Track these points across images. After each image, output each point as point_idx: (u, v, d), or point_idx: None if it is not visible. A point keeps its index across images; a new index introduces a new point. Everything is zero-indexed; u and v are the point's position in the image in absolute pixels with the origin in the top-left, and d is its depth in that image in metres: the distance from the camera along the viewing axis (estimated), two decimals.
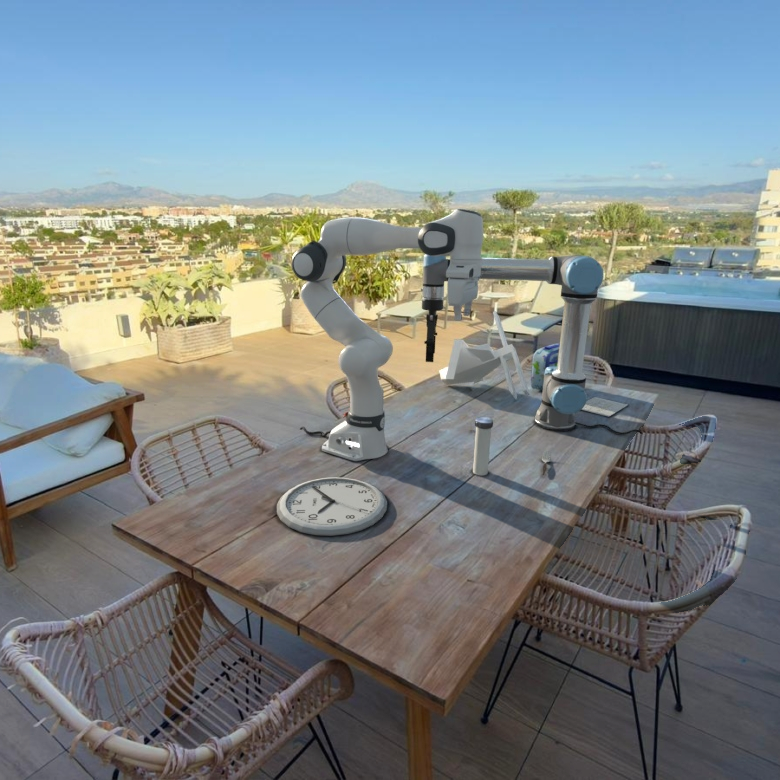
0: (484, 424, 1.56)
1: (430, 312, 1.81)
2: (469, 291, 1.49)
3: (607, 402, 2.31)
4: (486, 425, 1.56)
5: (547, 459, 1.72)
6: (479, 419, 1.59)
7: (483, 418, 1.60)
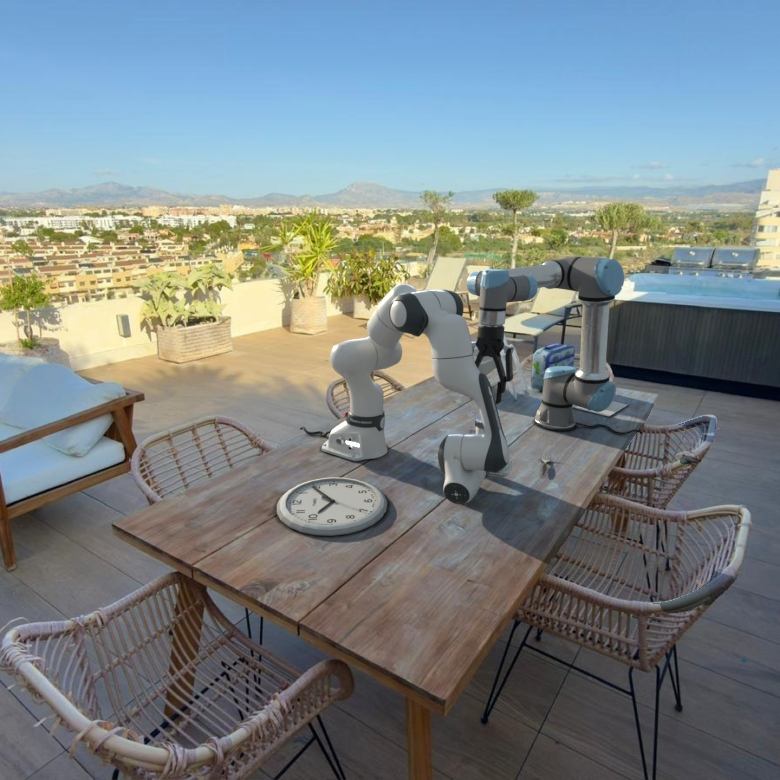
0: None
1: None
2: None
3: None
4: None
5: (547, 459, 1.72)
6: (479, 419, 1.59)
7: None
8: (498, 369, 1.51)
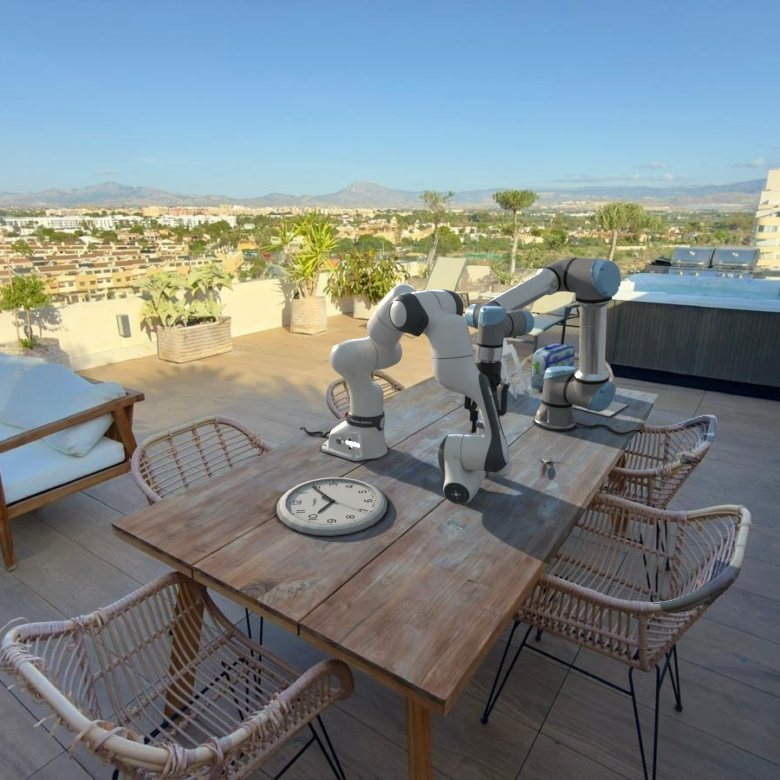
0: None
1: None
2: None
3: None
4: None
5: (547, 459, 1.72)
6: (479, 419, 1.59)
7: None
8: None
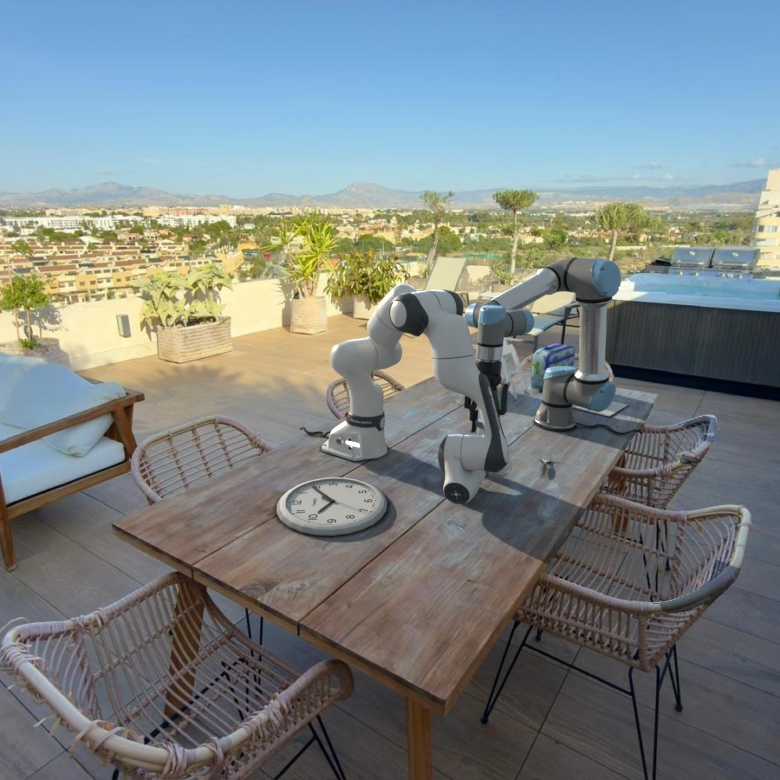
0: None
1: None
2: None
3: None
4: None
5: (547, 459, 1.72)
6: None
7: (481, 420, 1.58)
8: None
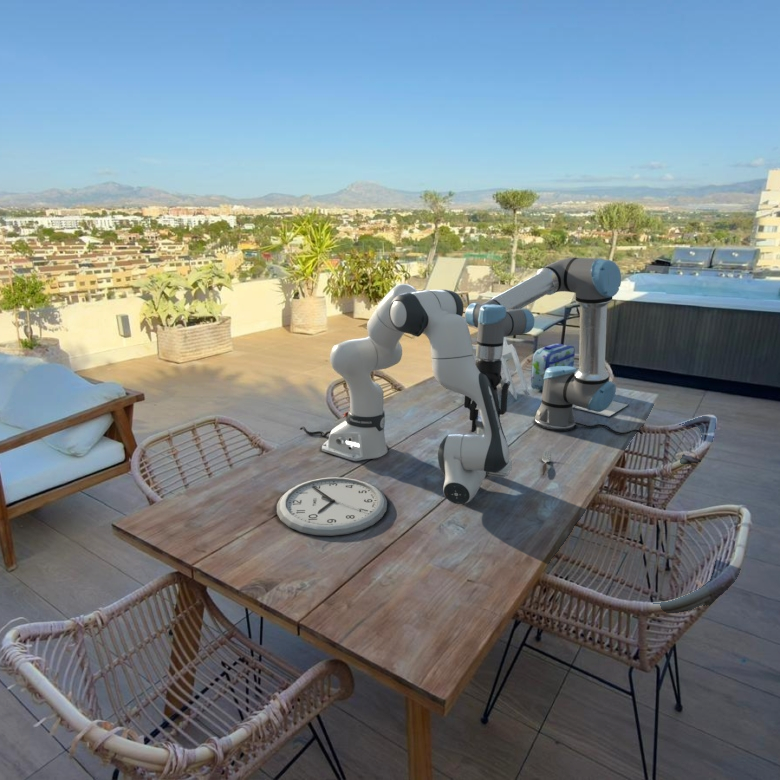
0: None
1: None
2: None
3: None
4: (475, 420, 1.59)
5: (547, 459, 1.72)
6: None
7: None
8: None
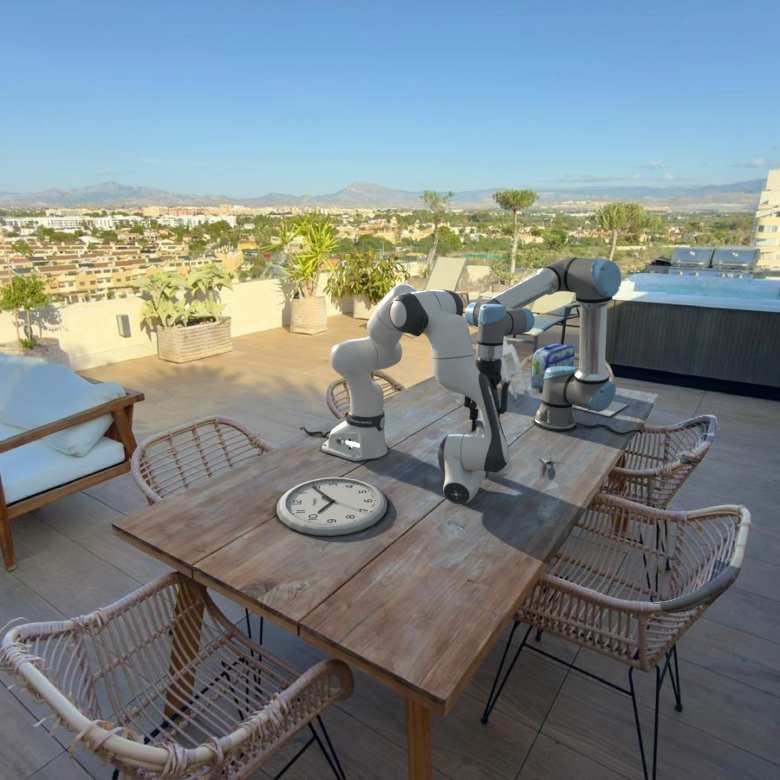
0: None
1: None
2: None
3: None
4: None
5: (547, 459, 1.72)
6: (479, 418, 1.58)
7: None
8: None
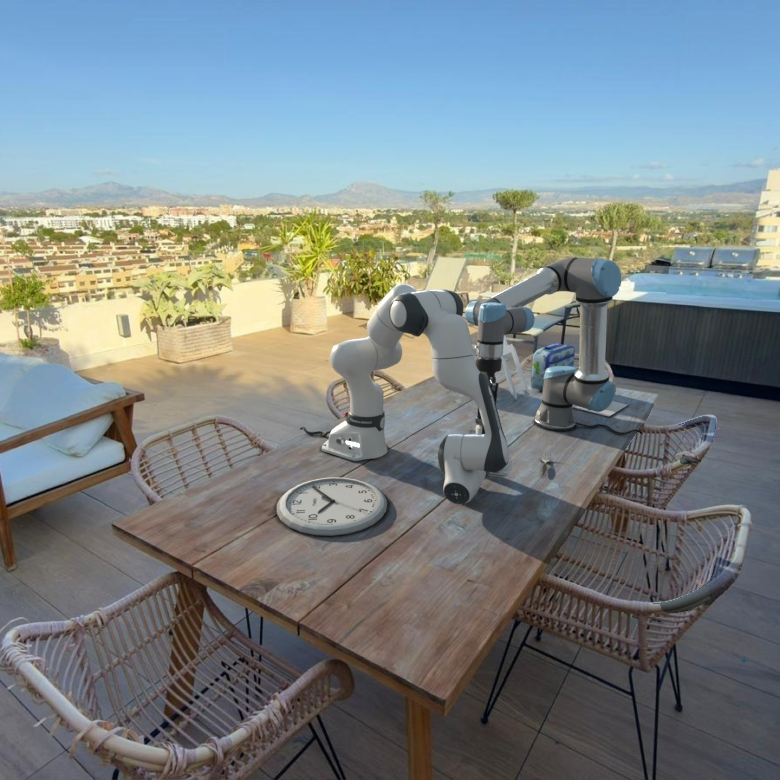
0: None
1: (490, 374, 1.50)
2: None
3: None
4: None
5: (547, 459, 1.72)
6: None
7: None
8: None
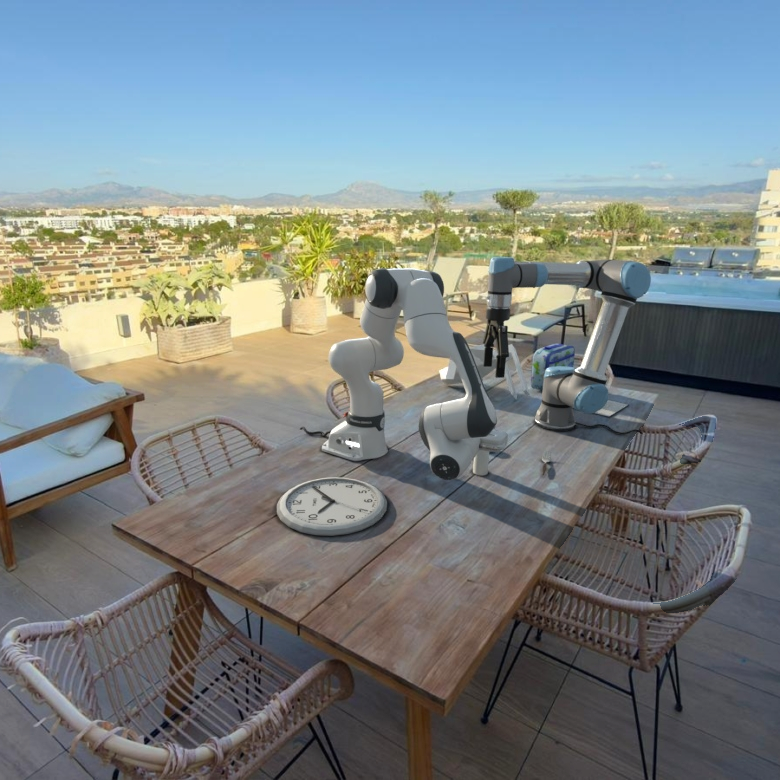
0: None
1: (499, 323, 1.64)
2: None
3: (607, 402, 2.31)
4: None
5: (547, 459, 1.72)
6: None
7: None
8: None
